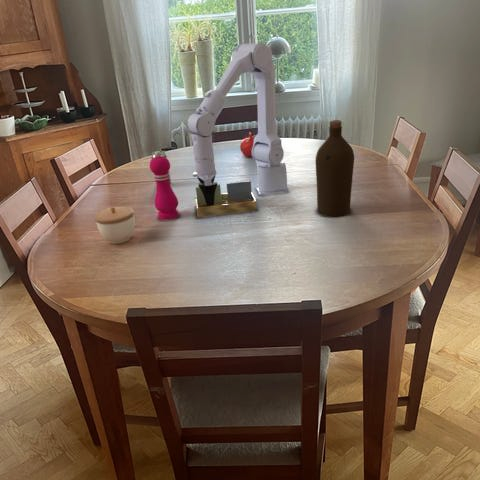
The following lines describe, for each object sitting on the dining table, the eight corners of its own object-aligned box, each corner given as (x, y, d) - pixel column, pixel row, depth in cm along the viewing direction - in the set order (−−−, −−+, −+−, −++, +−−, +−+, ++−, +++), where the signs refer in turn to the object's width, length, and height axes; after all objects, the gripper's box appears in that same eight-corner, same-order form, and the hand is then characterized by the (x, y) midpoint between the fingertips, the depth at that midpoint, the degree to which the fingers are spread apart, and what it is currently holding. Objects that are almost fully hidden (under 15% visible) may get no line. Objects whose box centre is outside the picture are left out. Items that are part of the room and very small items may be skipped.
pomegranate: (264, 157, 198) (263, 134, 193) (240, 159, 198) (238, 136, 193) (264, 151, 206) (262, 128, 201) (241, 153, 206) (239, 130, 201)
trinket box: (120, 249, 131) (112, 216, 126) (93, 243, 136) (84, 212, 131) (146, 234, 139) (139, 203, 134) (119, 229, 144) (112, 199, 139)
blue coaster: (252, 203, 151) (250, 180, 147) (252, 204, 151) (250, 181, 147) (228, 206, 151) (226, 183, 147) (228, 207, 150) (226, 184, 146)
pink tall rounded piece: (160, 189, 174) (154, 155, 167) (154, 186, 177) (148, 152, 171) (173, 185, 176) (168, 152, 169) (167, 182, 180) (161, 149, 173)
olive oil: (355, 216, 137) (359, 123, 123) (317, 219, 137) (318, 127, 124) (348, 203, 146) (351, 115, 132) (313, 206, 146) (313, 119, 133)
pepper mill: (184, 213, 151) (174, 147, 140) (174, 221, 145) (162, 154, 134) (163, 212, 153) (152, 147, 142) (153, 220, 147) (140, 154, 137)
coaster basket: (252, 199, 156) (251, 190, 154) (256, 211, 147) (256, 201, 145) (196, 206, 155) (194, 197, 153) (197, 218, 146) (196, 208, 144)
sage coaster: (222, 207, 151) (219, 184, 147) (222, 208, 150) (220, 184, 146) (198, 210, 151) (195, 187, 146) (198, 211, 150) (195, 187, 146)
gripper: (190, 152, 148) (196, 195, 155) (191, 165, 135) (197, 211, 143) (212, 150, 148) (217, 193, 155) (216, 162, 136) (221, 208, 143)
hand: (209, 201), depth 149 cm, fingers open, 6 cm apart
